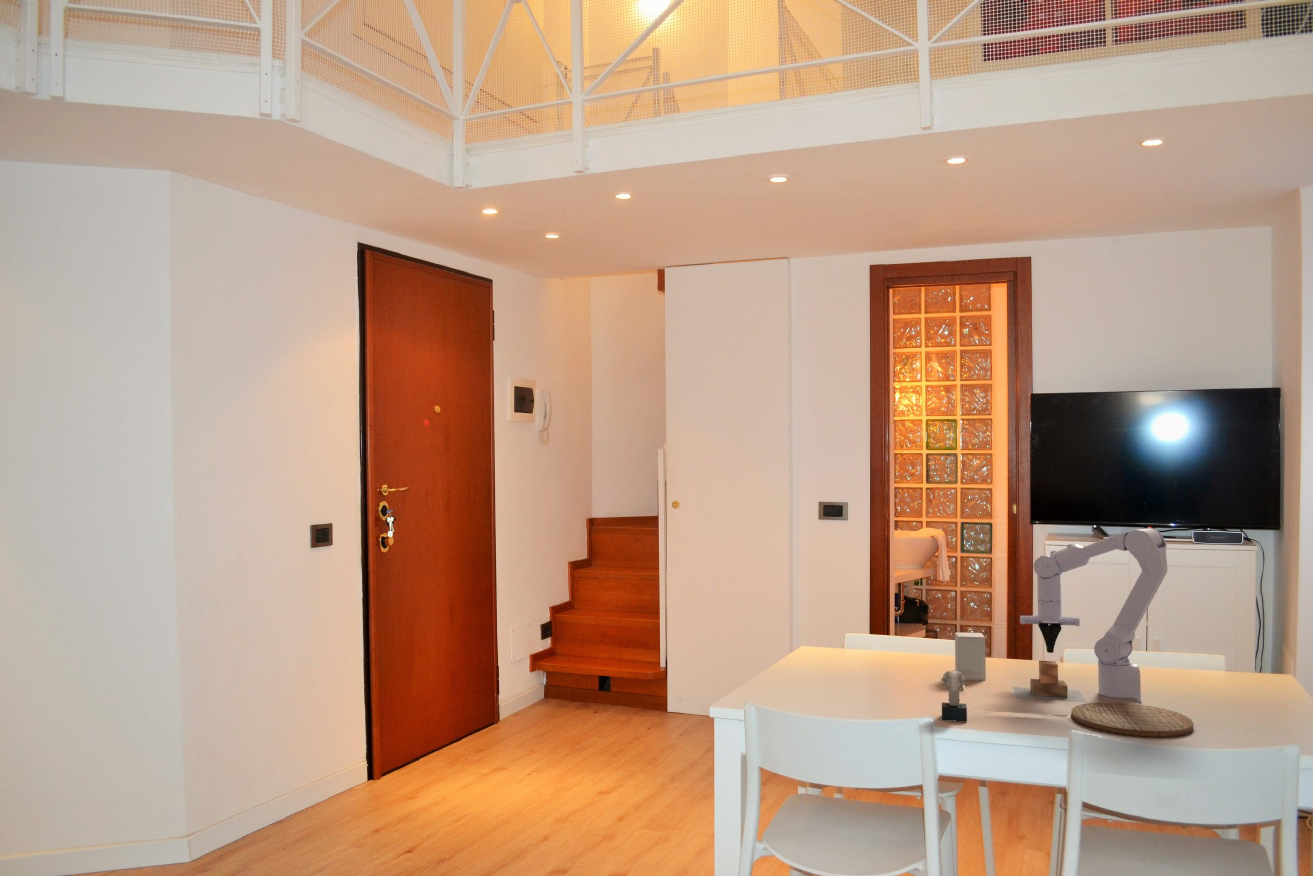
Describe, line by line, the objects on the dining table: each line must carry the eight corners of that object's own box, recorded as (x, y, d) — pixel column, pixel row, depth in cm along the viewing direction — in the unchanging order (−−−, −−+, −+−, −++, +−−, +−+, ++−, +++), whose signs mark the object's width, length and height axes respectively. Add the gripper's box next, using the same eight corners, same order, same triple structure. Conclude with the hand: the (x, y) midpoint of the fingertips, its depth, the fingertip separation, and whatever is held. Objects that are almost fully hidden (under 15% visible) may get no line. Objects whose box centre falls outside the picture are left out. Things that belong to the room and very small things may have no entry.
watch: (966, 715, 227) (965, 668, 227) (967, 724, 219) (966, 675, 219) (941, 713, 228) (940, 667, 229) (941, 722, 221) (941, 674, 221)
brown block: (1063, 692, 245) (1063, 680, 245) (1067, 697, 239) (1067, 685, 239) (1030, 690, 247) (1030, 678, 247) (1033, 696, 241) (1033, 684, 241)
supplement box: (986, 684, 258) (985, 637, 259) (957, 683, 260) (957, 636, 260) (982, 678, 266) (982, 632, 266) (954, 677, 267) (954, 631, 267)
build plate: (1078, 694, 246) (1078, 690, 246) (1087, 705, 235) (1087, 701, 235) (1012, 691, 250) (1012, 687, 251) (1017, 702, 239) (1017, 698, 239)
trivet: (1207, 743, 204) (1207, 734, 204) (1080, 735, 211) (1080, 726, 211) (1177, 714, 228) (1177, 706, 228) (1064, 707, 235) (1064, 699, 235)
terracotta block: (1055, 681, 244) (1055, 661, 244) (1058, 684, 240) (1057, 664, 240) (1039, 680, 245) (1038, 660, 245) (1041, 683, 241) (1040, 663, 241)
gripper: (1021, 601, 252) (1022, 653, 252) (1081, 603, 249) (1082, 656, 248) (1018, 598, 259) (1019, 648, 259) (1076, 599, 255) (1077, 651, 255)
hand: (1050, 652), depth 254 cm, fingers closed
